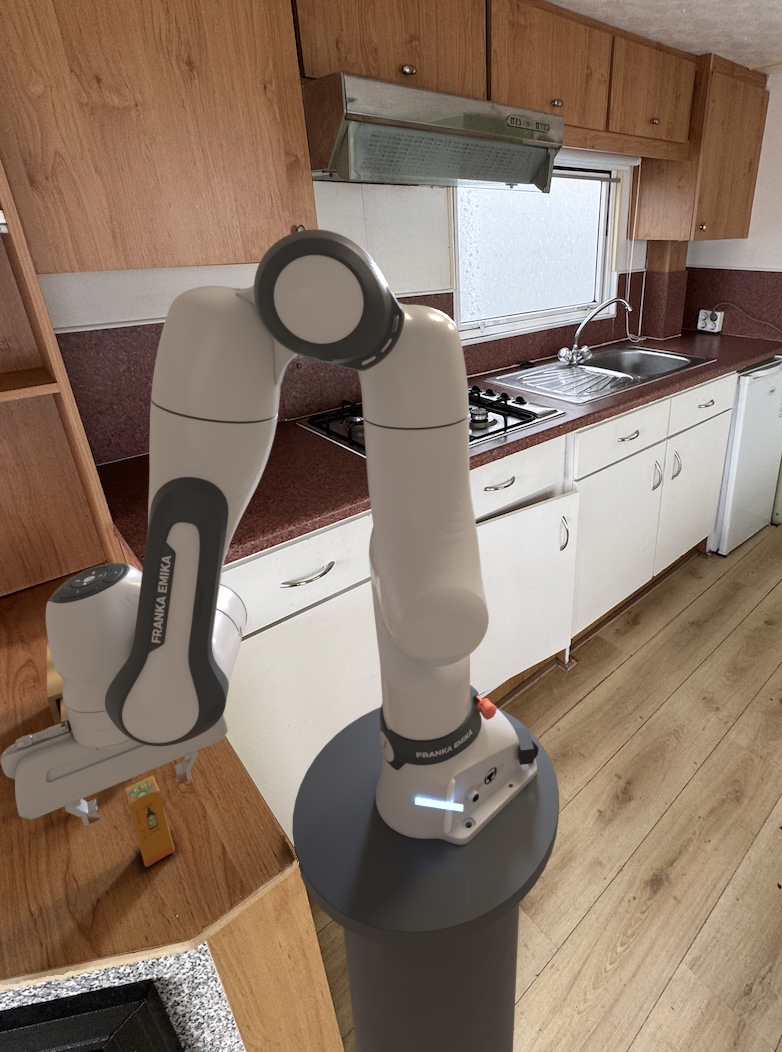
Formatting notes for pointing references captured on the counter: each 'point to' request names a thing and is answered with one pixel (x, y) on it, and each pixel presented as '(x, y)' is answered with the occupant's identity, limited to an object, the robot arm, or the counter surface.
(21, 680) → the counter surface
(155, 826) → the supplement box
